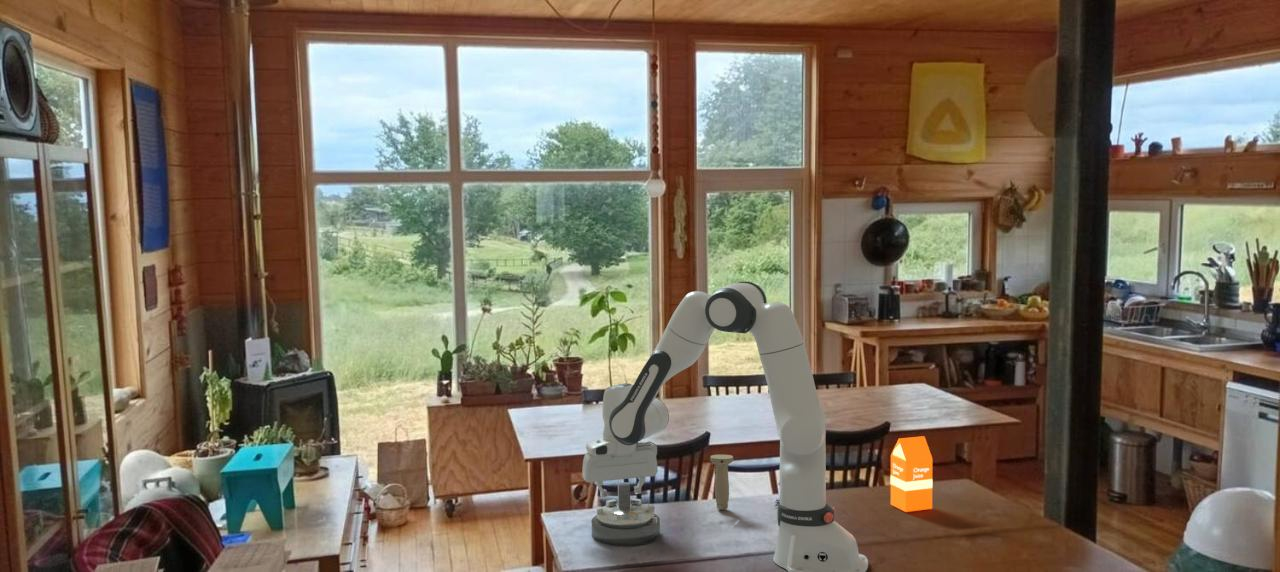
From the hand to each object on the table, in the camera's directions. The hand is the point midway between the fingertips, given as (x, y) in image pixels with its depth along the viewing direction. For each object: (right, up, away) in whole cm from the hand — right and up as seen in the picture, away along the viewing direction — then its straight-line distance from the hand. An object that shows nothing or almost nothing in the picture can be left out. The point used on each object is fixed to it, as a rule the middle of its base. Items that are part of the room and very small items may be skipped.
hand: (620, 495), depth 244 cm
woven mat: (+51, -8, +19) cm, 55 cm away
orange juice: (+83, -7, +16) cm, 85 cm away
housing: (+1, -10, -4) cm, 10 cm away
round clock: (+1, -5, -4) cm, 7 cm away
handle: (+29, -8, +17) cm, 34 cm away
